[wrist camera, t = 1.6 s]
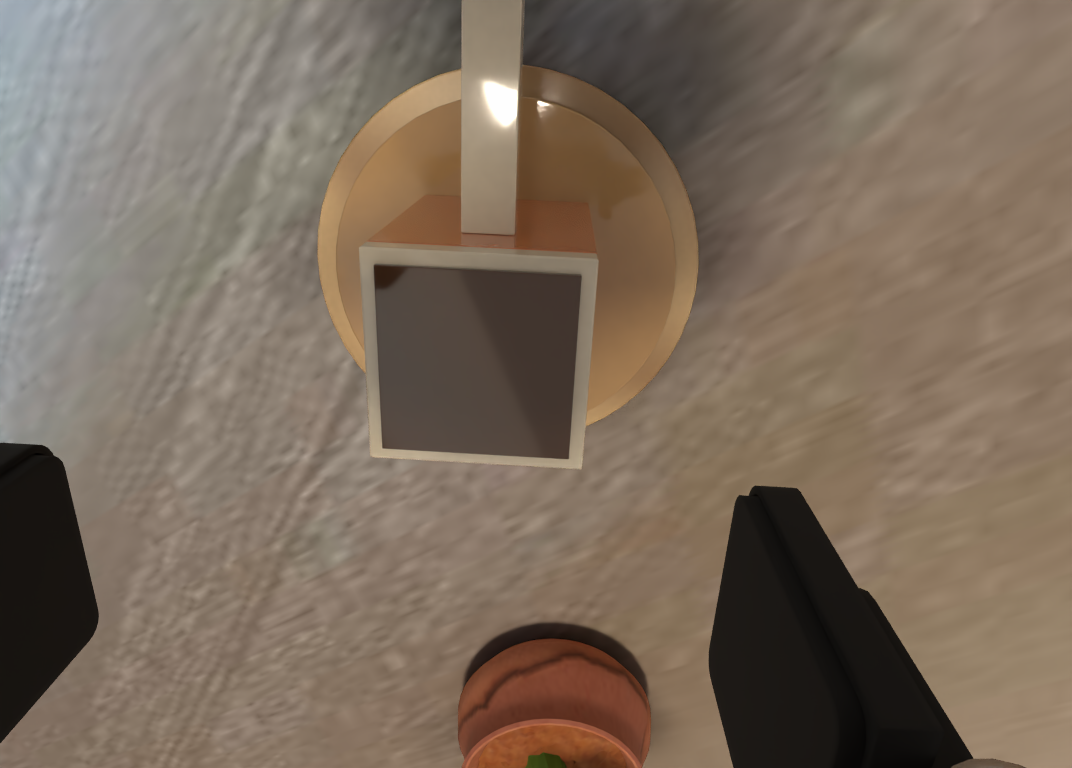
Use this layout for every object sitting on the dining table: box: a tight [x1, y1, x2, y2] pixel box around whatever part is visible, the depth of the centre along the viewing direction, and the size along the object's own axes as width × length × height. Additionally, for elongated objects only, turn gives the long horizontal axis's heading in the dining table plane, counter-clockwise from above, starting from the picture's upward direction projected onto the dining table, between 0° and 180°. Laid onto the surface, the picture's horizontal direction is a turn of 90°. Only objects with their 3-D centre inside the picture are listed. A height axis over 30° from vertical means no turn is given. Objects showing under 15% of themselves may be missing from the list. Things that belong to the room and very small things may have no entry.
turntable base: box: [317, 65, 699, 426], centre depth 28 cm, size 15×15×1 cm
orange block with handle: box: [336, 0, 676, 469], centre depth 22 cm, size 16×13×10 cm
